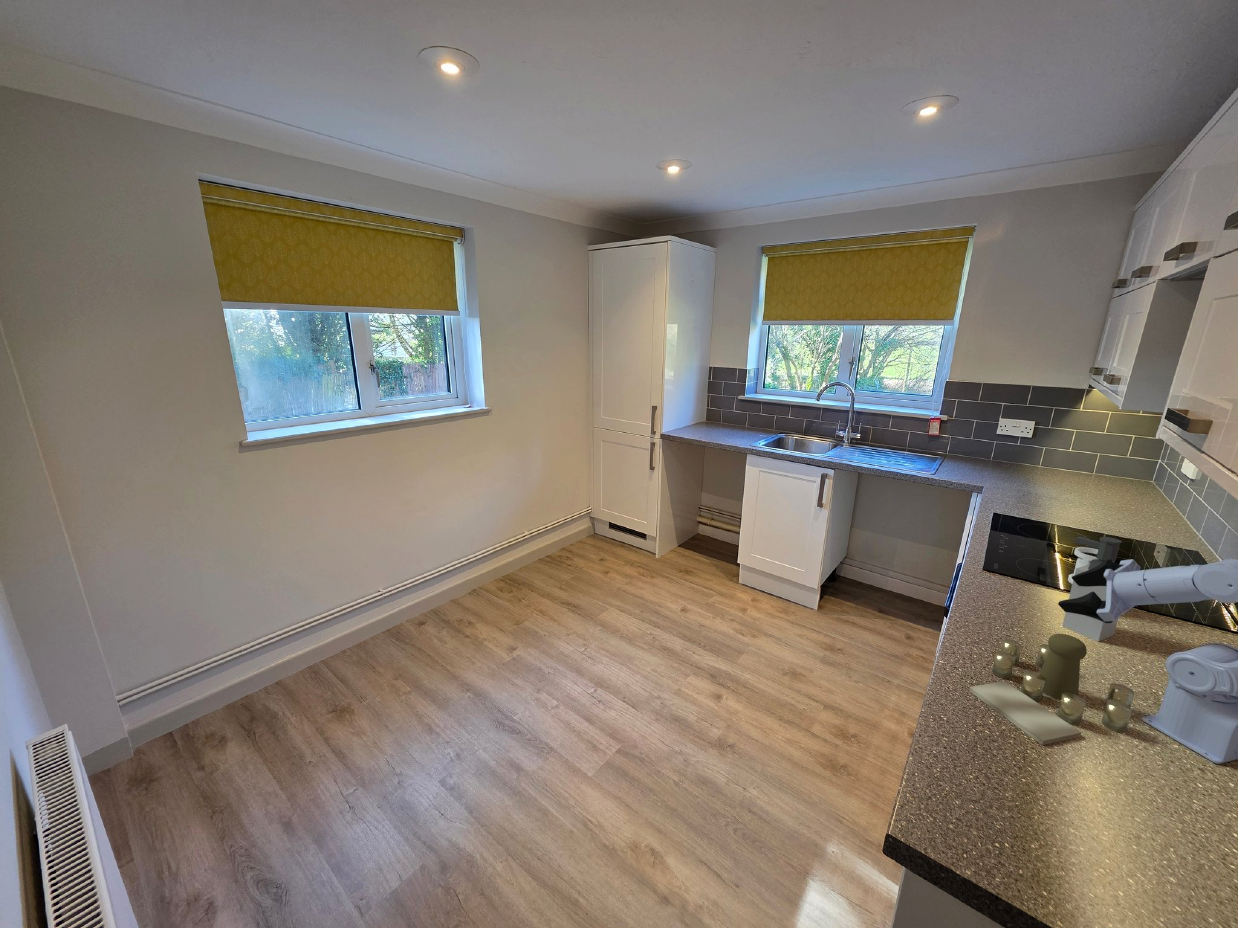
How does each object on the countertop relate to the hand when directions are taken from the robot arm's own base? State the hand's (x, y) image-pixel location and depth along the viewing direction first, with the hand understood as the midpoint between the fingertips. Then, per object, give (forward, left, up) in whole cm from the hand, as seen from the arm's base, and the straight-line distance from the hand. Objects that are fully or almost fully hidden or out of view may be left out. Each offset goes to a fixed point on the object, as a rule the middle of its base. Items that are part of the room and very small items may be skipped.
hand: (1068, 593), depth 95 cm
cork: (-7, +8, -16) cm, 19 cm away
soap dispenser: (+8, -20, -16) cm, 26 cm away
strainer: (+16, -32, -16) cm, 39 cm away
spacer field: (-7, +8, -15) cm, 19 cm away
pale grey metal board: (-10, +20, -15) cm, 27 cm away
